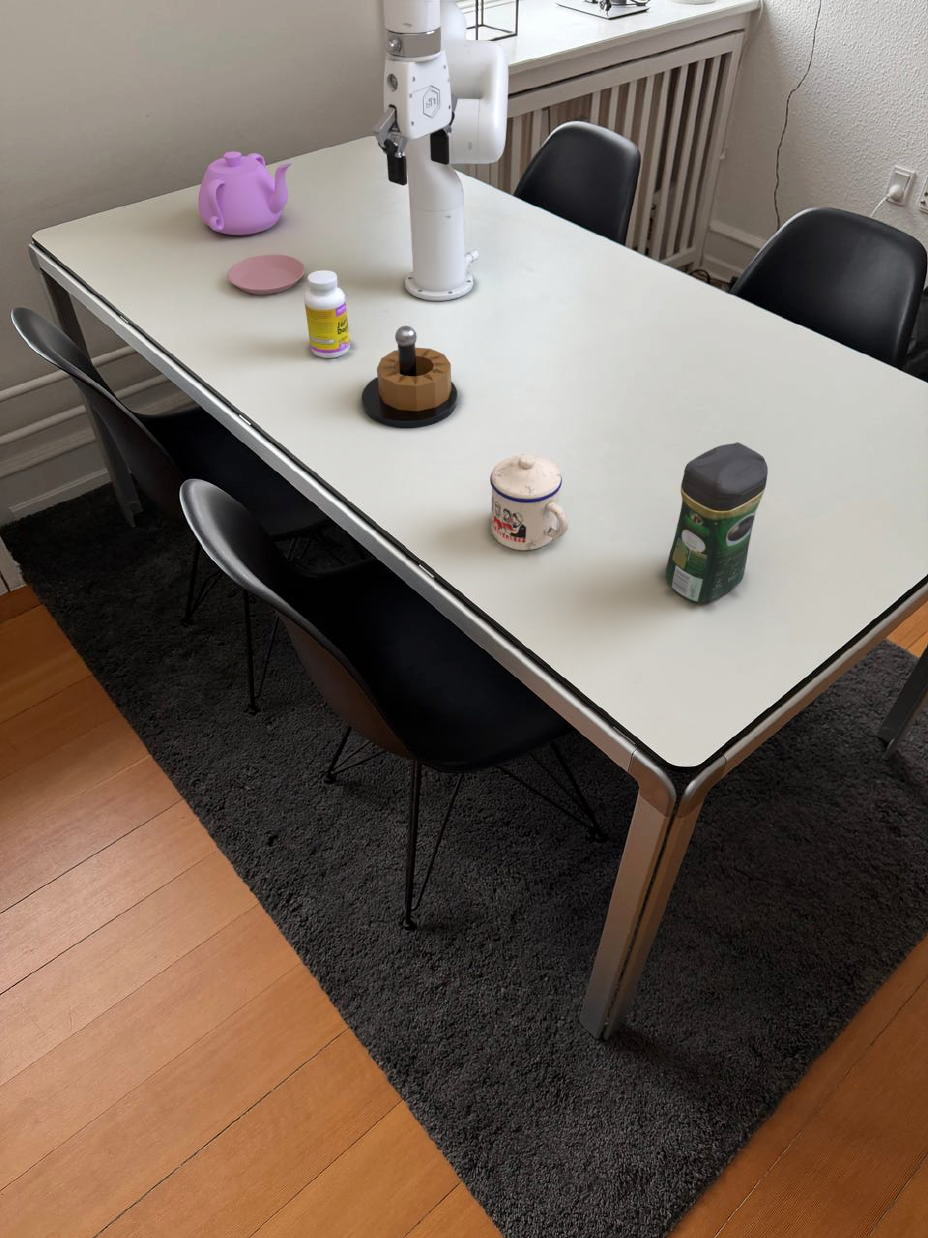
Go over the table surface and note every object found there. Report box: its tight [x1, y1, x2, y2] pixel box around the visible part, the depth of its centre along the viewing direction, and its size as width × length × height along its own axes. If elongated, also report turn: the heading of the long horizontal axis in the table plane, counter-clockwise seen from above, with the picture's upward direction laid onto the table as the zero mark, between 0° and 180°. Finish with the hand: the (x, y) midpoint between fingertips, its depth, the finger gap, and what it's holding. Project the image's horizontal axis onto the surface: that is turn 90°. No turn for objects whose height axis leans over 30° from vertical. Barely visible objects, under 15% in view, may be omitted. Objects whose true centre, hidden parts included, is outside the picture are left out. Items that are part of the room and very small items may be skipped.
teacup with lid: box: [489, 454, 569, 551], centre depth 121 cm, size 12×9×12 cm
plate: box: [227, 254, 306, 296], centre depth 177 cm, size 14×14×2 cm
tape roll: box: [376, 347, 452, 411], centre depth 146 cm, size 11×11×4 cm
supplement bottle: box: [303, 269, 351, 359], centre depth 155 cm, size 7×7×13 cm
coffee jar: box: [664, 441, 769, 604], centre depth 112 cm, size 10×8×19 cm
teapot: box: [197, 150, 292, 236], centre depth 191 cm, size 22×22×14 cm
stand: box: [360, 325, 459, 429], centre depth 144 cm, size 15×15×13 cm
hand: (419, 172), depth 140 cm, fingers open, 9 cm apart
